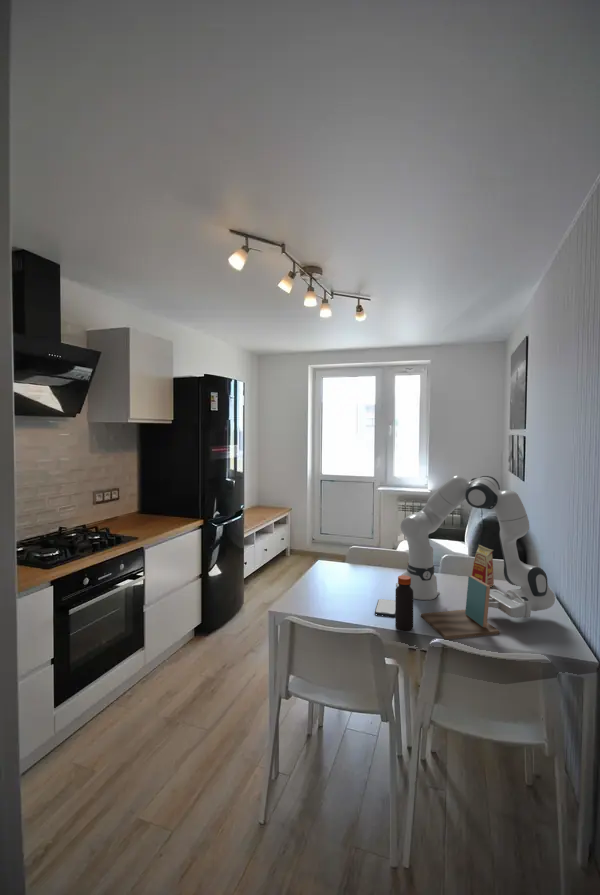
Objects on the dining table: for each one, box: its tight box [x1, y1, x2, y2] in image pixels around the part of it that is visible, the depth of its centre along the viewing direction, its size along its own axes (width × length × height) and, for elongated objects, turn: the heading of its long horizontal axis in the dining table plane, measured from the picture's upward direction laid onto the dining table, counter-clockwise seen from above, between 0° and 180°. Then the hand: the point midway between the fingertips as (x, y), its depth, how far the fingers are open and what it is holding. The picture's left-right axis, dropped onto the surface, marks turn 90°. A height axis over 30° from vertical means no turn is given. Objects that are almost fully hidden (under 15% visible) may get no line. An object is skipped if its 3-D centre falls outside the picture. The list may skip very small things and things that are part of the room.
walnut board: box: [420, 608, 500, 640], centre depth 170 cm, size 20×22×1 cm
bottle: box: [394, 574, 414, 632], centre depth 167 cm, size 7×7×20 cm
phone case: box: [374, 598, 395, 618], centre depth 186 cm, size 9×2×16 cm
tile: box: [465, 575, 491, 627], centre depth 170 cm, size 12×2×16 cm, turn 11°
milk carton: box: [470, 544, 495, 588], centre depth 212 cm, size 9×9×20 cm
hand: (484, 603), depth 171 cm, fingers closed
